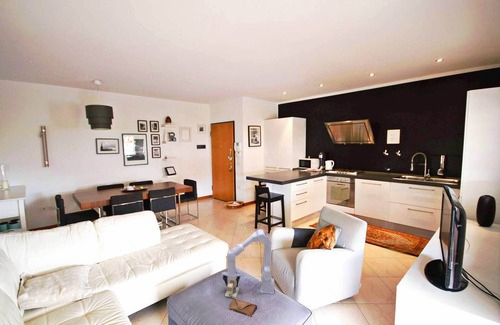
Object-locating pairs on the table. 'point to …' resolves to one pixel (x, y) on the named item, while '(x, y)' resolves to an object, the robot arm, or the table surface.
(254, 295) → the table surface
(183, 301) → the table surface
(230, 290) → the beige piece
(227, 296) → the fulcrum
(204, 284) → the table surface
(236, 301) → the sunglasses case
